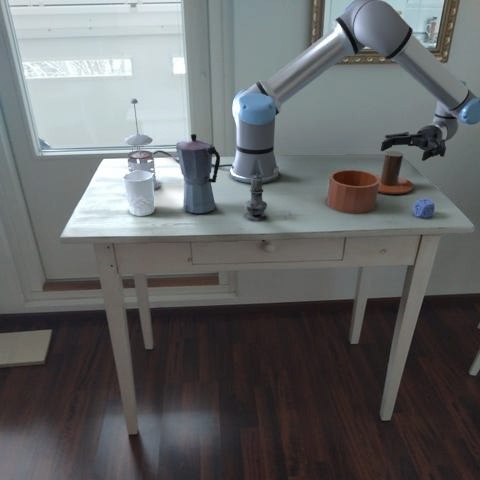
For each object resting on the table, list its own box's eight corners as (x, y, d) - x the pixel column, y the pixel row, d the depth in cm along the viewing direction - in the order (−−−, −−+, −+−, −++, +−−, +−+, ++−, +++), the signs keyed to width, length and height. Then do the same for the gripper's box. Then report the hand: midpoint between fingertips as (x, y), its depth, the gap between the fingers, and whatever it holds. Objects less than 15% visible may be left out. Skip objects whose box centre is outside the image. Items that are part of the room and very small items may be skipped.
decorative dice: (411, 213, 134) (415, 199, 131) (424, 211, 135) (427, 197, 132) (420, 219, 131) (423, 205, 128) (432, 217, 131) (436, 203, 129)
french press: (132, 193, 143) (120, 104, 128) (123, 180, 152) (110, 95, 137) (163, 188, 147) (155, 100, 132) (153, 176, 155) (144, 92, 140)
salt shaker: (264, 222, 128) (266, 178, 121) (243, 220, 129) (243, 176, 122) (268, 213, 133) (270, 170, 126) (247, 211, 134) (248, 168, 127)
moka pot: (191, 196, 142) (187, 126, 130) (233, 209, 135) (232, 136, 123) (169, 207, 136) (162, 134, 124) (211, 221, 129) (209, 145, 117)
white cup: (131, 205, 137) (126, 170, 131) (158, 205, 137) (155, 170, 131) (125, 216, 130) (119, 180, 125) (154, 217, 130) (150, 181, 124)
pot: (317, 204, 138) (320, 178, 134) (342, 190, 146) (345, 166, 142) (360, 217, 131) (364, 191, 127) (383, 202, 139) (388, 177, 135)
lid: (355, 187, 149) (360, 154, 142) (377, 174, 158) (383, 143, 151) (399, 199, 141) (406, 165, 135) (420, 185, 150) (428, 152, 144)
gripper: (465, 155, 156) (439, 173, 143) (394, 140, 169) (364, 154, 156) (472, 131, 152) (445, 147, 139) (398, 117, 165) (368, 130, 152)
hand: (402, 151), depth 147 cm, fingers open, 13 cm apart
